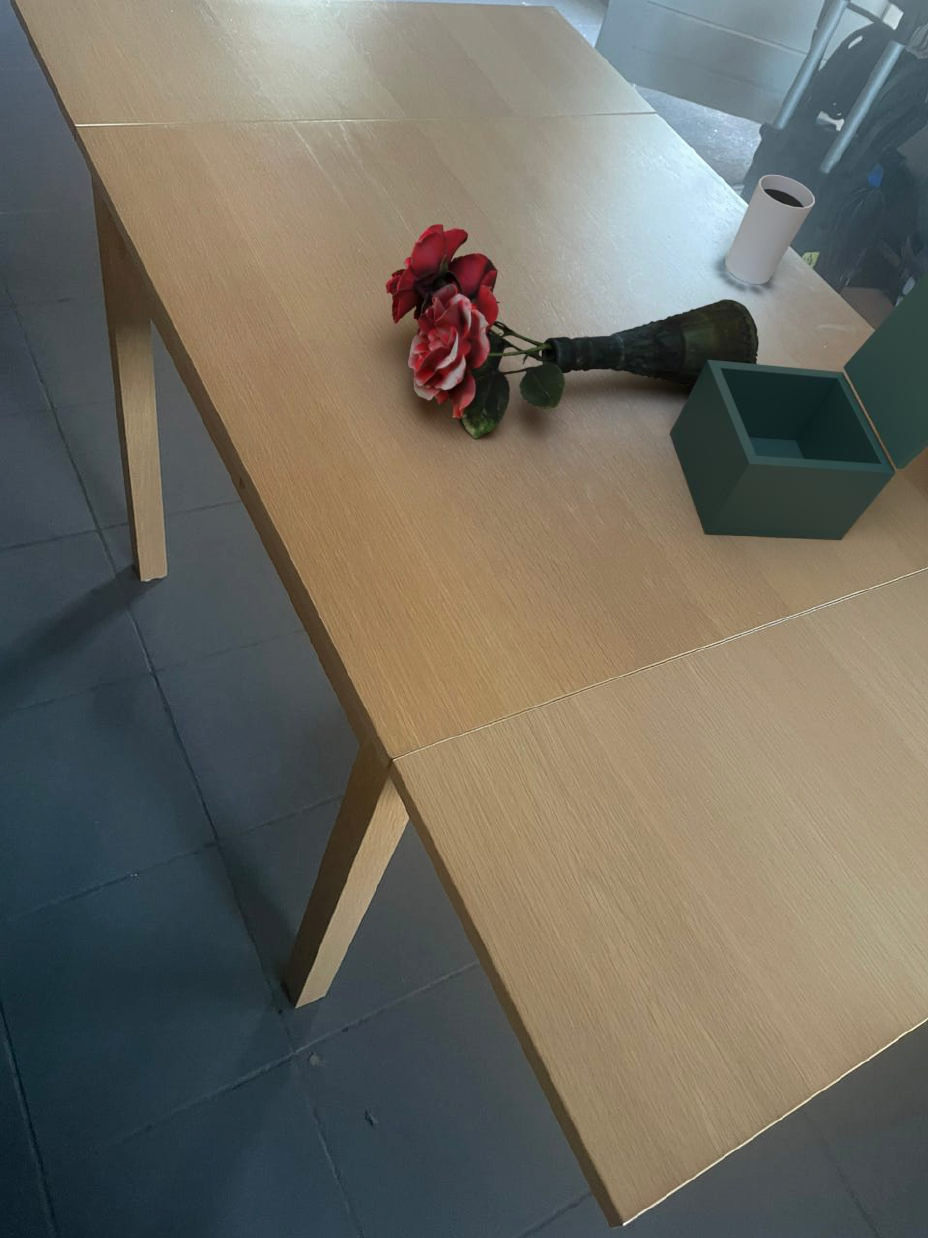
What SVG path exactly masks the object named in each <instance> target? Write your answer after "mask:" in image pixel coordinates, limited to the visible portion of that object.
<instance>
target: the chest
mask: <svg viewBox="0 0 928 1238" xmlns="http://www.w3.org/2000/svg"><path fill="white" fill-rule="evenodd" d="M857 397H858V396H856V394H855V392H854V390H853V388H852V385H851V383H850V381H849V380H848V379H847V377H846V376H845V373H844V372H843V371H836V370H823V369H811V368H802V367H793V366H792V367H791V366H781V365H769V364H760V363H759V364H758V363H757V364H749V363H738V362H727V361H716V360H707V362H706V364H705V366H704V368H703V370H702V371H701V373H700V375H699V377H698V379H697V381H696V383H695V385H694V387H693V386H692V389H691V390H690V393H689V395H688V397H687V399H686V401H685V402H684V404H683V406H682V408H681V410H680V412H679V414H678V416H677V418H676V420H675V422H674V424H673V425H672V427H671V429H670V431H669V434H670V437H671V440H672V444H673V446H674V449H675V452H676V454H677V458H678V460H679V463H680V466H681V469H682V472H683V475H684V478H685V480H686V483H687V486H688V489H689V492H690V495H691V498H692V501H693V503H694V506H695V509H696V512H697V515H698V517H699V518H698V519H699V521H700V524H701V526H702V530H703V533H704V534H705V535H719V536H739V537H740V536H742V537H762V538H763V537H765V538H785V539H786V538H789V539H809V540H810V539H811V540H831V541H833V540H835V541H842V539H843V538H844V537H845V536H846V535H847V533H848V532H849V531H850V530H851V529H852V527H853V526H854V525H855V524H856V522H857V521H858V520H859V519H860V518H861V516H863V514H864V513H865V512H866V511H867V509H868V508H869V506H871V504H872V503H873V502H874V501H875V500H876V499H877V497H878V496H879V494H880V493H881V492H882V491H883V490H884V488H885V487H886V486H887V485H888V483H889V482H890V481H891V480H892V478H893V477H894V476H895V475H896V474H897V471H896V470H895V468H894V466H893V464H892V462H891V459H890V458H889V457H888V455H887V453H886V451H885V449H884V447H883V445H882V444H881V442H880V440H879V438H878V436H877V434H876V432H875V430H874V428H873V426H872V425H871V423H870V422H871V421H869V418H868V416H867V415H866V412H865V410H864V409H863V407H862V405H861V403H860V400H859V399H858V398H857Z"/></svg>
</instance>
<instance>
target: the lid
mask: <svg viewBox="0 0 928 1238" xmlns="http://www.w3.org/2000/svg"><path fill="white" fill-rule="evenodd" d="M843 369H844V372H845V373H846V375H847V377H848V379H849V382H850V384H851V386H852V387H853V389H854V391H855V392H856V395H857V397H858V398H859V401H860V402H861V404H862V406H863V408H864V409H865V410H864V411H865V413H867V415H868V417H869V419H870V422H871V423H872V425H873V427H874V428H875V430H876V432H877V435H878V436H879V438H880V440H881V441H882V443H883V445H884V448H885V449H886V452H887V453H888V455H889V458H890V460H891V461H892V463H893V465H894V467H895V468H896V469H899V470H904V469H905V468H907V466H908V465H909V464H911V462H912V461H913V460H914V459H916V458H917V457H918V456H919V455H920V454H921V453H922V452H923V451H924V450H925V449H926V448H927V447H928V270H927V271H926V272H925V273H924V274H923V275H922V276H921V277H920V278H919V280H918V281H917V282H916V283H915V284H914V286H913V287H912V288H911V289H910V290H909V291H908V292H907V293H906V295H905V296H904V297H903V298H902V299H901V300H900V301H899V302H898V304H897V305H896V306H895V307H894V308H893V310H891V312H890V313H889V314H888V315H887V316H886V318H885V319H883V321H882V322H881V323H880V324H879V325H878V327H877V328H876V329H874V331H873V332H872V333H871V334H870V336H869V337H868V338H867V339H866V340H865V341H864V342H863V343H862V345H861V346H860V347H859V348H858V349H857V350H856V351H855V352H854V354H853V355H852V356H851V357H850V358H849V360H848V361H847V362H845V364H844V365H843Z"/></svg>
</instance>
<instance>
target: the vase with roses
mask: <svg viewBox="0 0 928 1238" xmlns="http://www.w3.org/2000/svg"><path fill="white" fill-rule="evenodd" d="M468 238H469V233H468V232H467V231H466V230H465V229H463V228H455V227H454V228H451V229H448V230H445V231H444V224H442V223H441V224H439V223H436V224H435V223H434V224H431V225H430V226H428V227H427V228H426V229H425V230H424V231H423V232H422V233H421V235H420V236H419V238H418V240H417V241H416V242H415V243H414V245H413V247H412V250H411V253H410V256H408V257H406V258H405V260H404V261H403V264H404V267H405V268H401V269H397V270H396V271H394V272H392V273H391V274H390V276H391V277H392V278H390V279H388V281H387V282H386V283H385V289H386V290H385V291H386V294H390V295H392V296H391V300H392V303H391V316H392V321H393V323H394V325H395V324H396V325H397V324H398V323H399V321H400V320H401V319H403V318H404V317H405V316H406V315H407V314H409V313H410V312H411V311H412V310H413V309H415V310H414V311H413V319H414V320H416V321H417V326H418V328H417V331H416V334H415V335H414V336H413V337H412V341H411V344H410V350H409V357H408V362H407V365H408V369H413V376H414V377H413V390H414V392H415V393H416V394H417V396H418V397H420V398H421V399H425V400H427V402H429V401H432V400H433V398H435V399H436V400H437V404H438V405H442V404H444V403H445V402H446V401H447V400H450V401H451V403H452V408H453V409H452V418H454V419H459V420H460V419H461V421H462V423H463V425H464V428H465V430H466V431H467V432H468V433H469V434H470V435H471V437H472V438H473V439H479V438H480V437H482V436H484V435H485V434H488V433H489V432H491V431H493V430H494V429H495V428H497V426H498V425H499V424H500V423H501V421H502V420H503V418H504V416H505V415H506V413H507V410H508V406H509V403H510V396H511V393H510V392H511V391H510V390H511V388H510V384H509V383H510V381H509V380H508V377H507V376H506V375H514V374H519V373H524V372H525V373H524V376H523V377H522V378H521V381H520V382H519V384H518V387H519V391H520V395H521V397H522V399H523V400H524V401H526V403H527V404H529V405H530V406H533V407H537V408H540V409H543V410H544V409H554V408H556V407H557V406H558V405H559V403H560V402H561V400H562V398H563V396H564V391H565V386H566V378H565V375H564V374H568V373H569V374H570V373H571V372H572V371H573V372H579V371H583V372H589V371H592V370H602V371H604V370H606V371H608V370H612V371H614V372H627V373H630V374H632V375H635V376H639V377H646V378H648V379H651V378H652V379H653V380H661V381H666V382H668V383H674V384H676V385H677V384H679V385H681V386H683V387H684V386H688V387H692V388H693V387H694V385H695V383H696V381H697V379H698V377H699V375H700V373H701V371H702V370H703V368H704V366H705V364H706V362H707V360H716V361H727V362H738V363H749V364H758V363H757V361H758V359H757V358H758V356H759V355H758V351H759V344H760V342H759V336H758V327H757V325H756V322H755V320H754V317H753V315H752V314H751V312H750V311H749V309H748V308H747V306H746V305H744V304H743V303H741V302H739V301H737V300H734V299H729V298H728V299H727V298H726V299H725V298H723V299H720V300H718V301H715V302H713V303H709V304H704V305H703V306H700V307H697V308H691V309H690V310H687V311H683V312H682V313H676V314H673V315H668V316H667V317H666V318H664V319H658V320H656V321H653V320H651V321H650V322H648V323H644V324H641V325H638V326H635V327H631V328H628V329H624V330H621V331H616V332H614V333H611V334H610V335H598V336H596V335H595V336H586V335H585V336H580V337H579V336H577V337H573V338H570V337H568V336H560V337H559V336H558V337H548V338H547V339H545V340H544V341H543V342H541V341H537V340H533V339H531V338H528V337H526V336H523V335H521V334H519V333H517V332H516V331H514V330H513V329H511V328H510V327H508V326H507V325H506V324H505V323H503V322H501V321H498V320H497V319H498V316H499V312H500V311H499V310H500V309H499V304H500V302H501V301H497V298H496V296H495V295H494V290H495V288H496V287H495V286H496V283H497V277H498V273H499V270H498V269H497V268H496V266H495V265H494V263H493V262H492V260H491V259H490V258H489V257H488V256H487V255H486V254H483V253H481V252H480V253H479V252H476V253H475V252H473V253H469V254H468V253H467V254H465V255H460V256H457V257H454V256H455V254H456V252H457V251H458V250H459V249H460V247H461V246H463V245H464V244H466V242H467V241H468ZM493 326H494V327H496V328H497V329H499V330H501V331H502V332H499V333H498V332H496V331H495V330H493V329H492V328H493ZM508 336H510V337H511V336H512V337H514V338H517V339H520V340H522V341H525V342H527V343H529V344H531V345H534V346H536V347H531V348H528V349H522V348H520V347H518V346H516V345H515V344H513V343H512V342H510V341H508V340H507V339H506V338H505V337H508ZM509 348H513V349H514V350H516V351H511V352H510V351H508V352H505V350H506V349H509ZM540 352H541V353H540ZM520 355H524V357H523V358H522V365H524V364H525V362H526V361H527V360H528V357H529V358H532V359H535V360H536V361H537V362H541V363H542V364H538V365H535V366H527V367H524V368H521V369H518V370H509V371H502V370H500V364H501V362H502V359H503V357H504V358H505V357H511V356H513V357H514V356H520ZM477 379H478V380H477Z"/></svg>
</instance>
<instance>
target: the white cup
mask: <svg viewBox="0 0 928 1238" xmlns="http://www.w3.org/2000/svg"><path fill="white" fill-rule="evenodd" d="M815 203H816V201H815V195H813V193H812V192H811V190H810V189H809V188H808V187H806V186H805V185H804V184H802V183H800V182H799V181H797V180H795V179H793V178H790V177H787V176H783V175H780V174H779V175H777V174H766V175H763V176H762V177H760V179H759V180H758V182H757V184H756V186H755V189H754V191H753V194H752V197H751V199H750V201H749V204H748V206H747V208H746V211H745V213H744V215H743V217H742V219H741V222H740V224H739V227H738V230H737V232H736V234H735V236H734V239H733V241H732V243H731V246H730V248H729V251H728V253H727V256H726V258H725V260H724V266H725V268H726V270H727V271H728V272H729V273H730V274H731V275H732V276H733V277H734V278H736V279H738V280H739V281H742V282H745V283H747V284H751V285H763V284H767V283H768V282H769V281H770V280H771V278H772V276H773V274H774V273H775V271H776V270H777V267H778V266H779V264H780V263H781V260H782V259H783V258H784V255H785V254H786V253H787V250H788V249H789V247H790V245H791V244H792V243H793V240H794V239H795V237H796V235H797V234H798V232H799V231H800V228H802V226H803V223H804V222H805V220H806V218H807V217H808V215H809V213H810V212H811V210H812V209H813V207H814V205H815Z"/></svg>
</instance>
